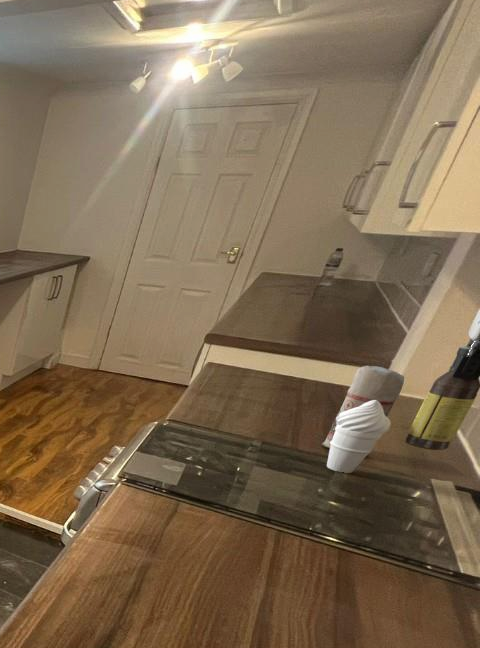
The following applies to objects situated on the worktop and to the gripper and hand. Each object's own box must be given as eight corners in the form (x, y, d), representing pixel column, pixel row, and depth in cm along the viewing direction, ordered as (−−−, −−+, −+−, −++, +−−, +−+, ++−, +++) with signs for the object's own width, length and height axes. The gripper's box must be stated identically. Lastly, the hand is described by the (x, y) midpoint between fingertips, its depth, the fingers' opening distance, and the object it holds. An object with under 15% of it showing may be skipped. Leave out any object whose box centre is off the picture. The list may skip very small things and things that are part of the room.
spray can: (317, 440, 143) (355, 361, 134) (361, 447, 139) (403, 366, 131) (326, 452, 137) (366, 369, 128) (372, 459, 133) (417, 375, 124)
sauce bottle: (454, 450, 116) (513, 351, 107) (433, 453, 114) (490, 353, 105) (414, 438, 121) (467, 343, 112) (393, 440, 120) (445, 345, 111)
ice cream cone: (347, 479, 123) (384, 408, 116) (304, 463, 130) (337, 395, 123) (374, 475, 125) (411, 404, 118) (330, 459, 132) (363, 392, 125)
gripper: (560, 283, 95) (497, 389, 103) (545, 275, 106) (488, 372, 114) (492, 278, 100) (436, 380, 108) (484, 271, 111) (434, 364, 119)
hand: (464, 375), depth 111 cm, fingers closed on sauce bottle, 4 cm apart
